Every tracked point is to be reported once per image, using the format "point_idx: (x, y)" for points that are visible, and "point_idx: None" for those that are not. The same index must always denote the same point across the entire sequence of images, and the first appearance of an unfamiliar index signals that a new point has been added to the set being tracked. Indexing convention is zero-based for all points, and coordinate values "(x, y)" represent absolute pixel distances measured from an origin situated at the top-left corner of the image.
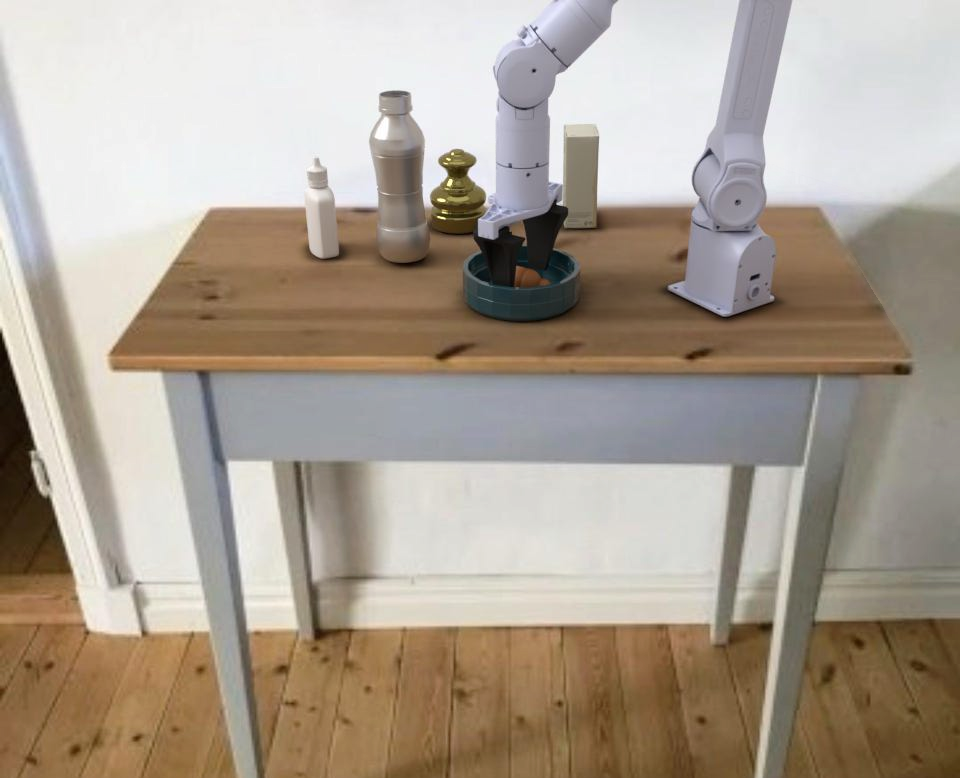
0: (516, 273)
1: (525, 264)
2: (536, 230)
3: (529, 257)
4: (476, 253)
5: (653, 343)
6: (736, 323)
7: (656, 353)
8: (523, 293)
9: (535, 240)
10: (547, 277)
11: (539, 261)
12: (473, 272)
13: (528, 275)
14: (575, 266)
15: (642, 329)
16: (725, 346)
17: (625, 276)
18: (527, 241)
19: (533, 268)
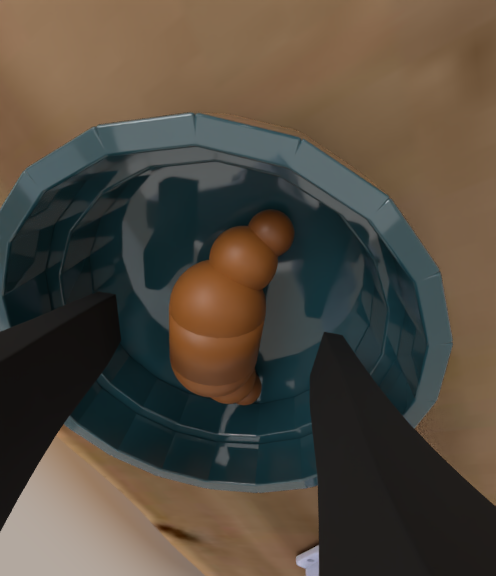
0: (177, 350)
1: (381, 294)
2: (345, 498)
3: (327, 356)
4: (234, 139)
5: (174, 501)
6: (287, 560)
7: (149, 505)
8: None
9: (338, 439)
10: (363, 339)
11: (316, 383)
12: (191, 147)
13: (184, 383)
14: (274, 484)
15: (210, 491)
16: (214, 550)
17: (446, 457)
18: (350, 397)
19: (380, 311)
